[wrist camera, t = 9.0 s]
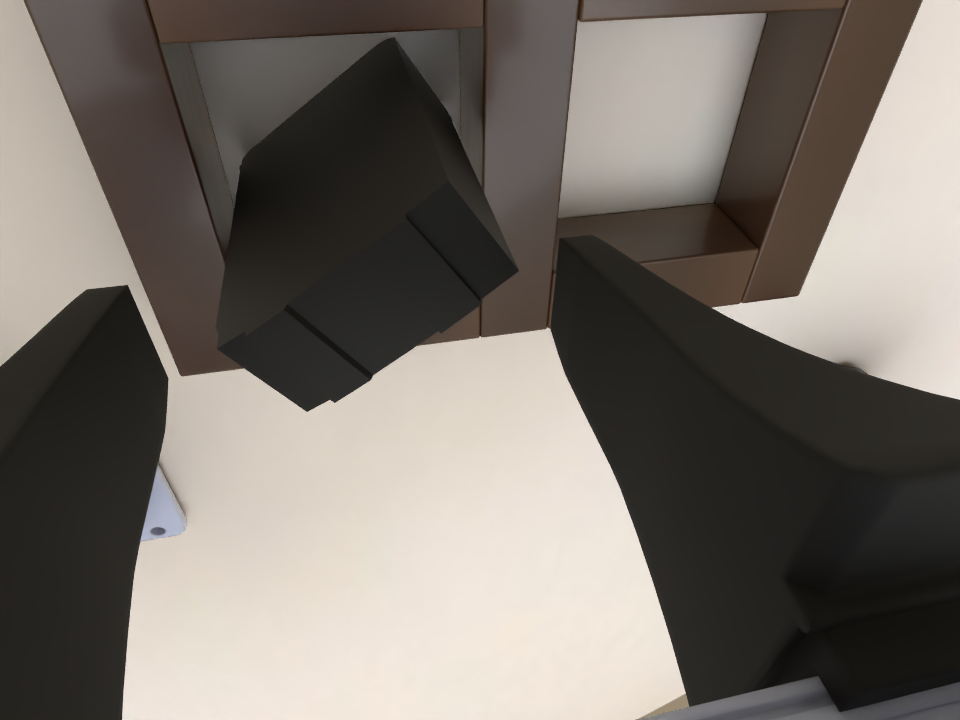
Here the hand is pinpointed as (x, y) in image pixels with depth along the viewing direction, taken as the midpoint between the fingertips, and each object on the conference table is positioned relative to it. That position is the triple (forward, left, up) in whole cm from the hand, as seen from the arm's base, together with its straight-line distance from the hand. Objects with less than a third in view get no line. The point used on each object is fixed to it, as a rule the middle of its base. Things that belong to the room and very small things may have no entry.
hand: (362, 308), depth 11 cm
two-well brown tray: (+4, 0, -7) cm, 9 cm away
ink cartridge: (0, 0, -8) cm, 8 cm away
